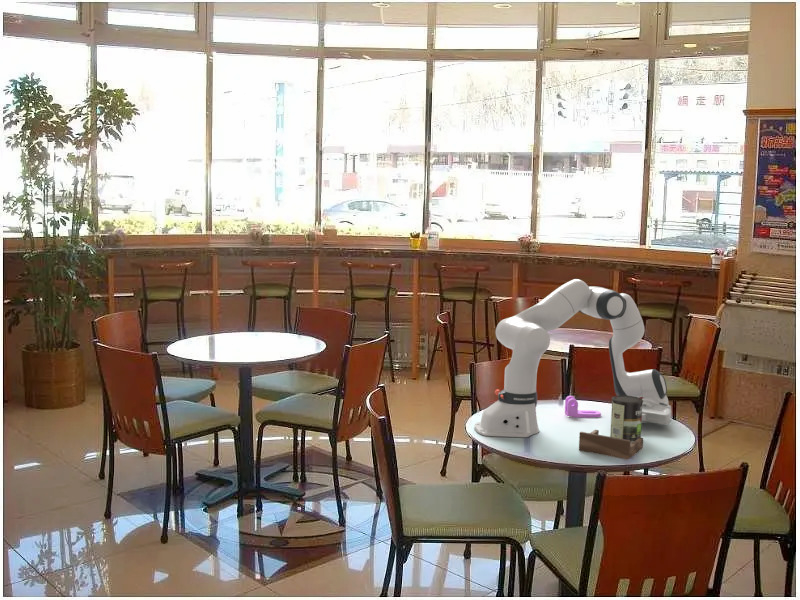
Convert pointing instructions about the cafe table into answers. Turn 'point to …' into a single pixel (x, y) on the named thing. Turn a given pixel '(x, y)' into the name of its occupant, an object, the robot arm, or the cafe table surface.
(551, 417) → the cafe table surface
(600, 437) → the box
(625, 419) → the coffee can
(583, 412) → the bracket
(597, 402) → the cafe table surface
